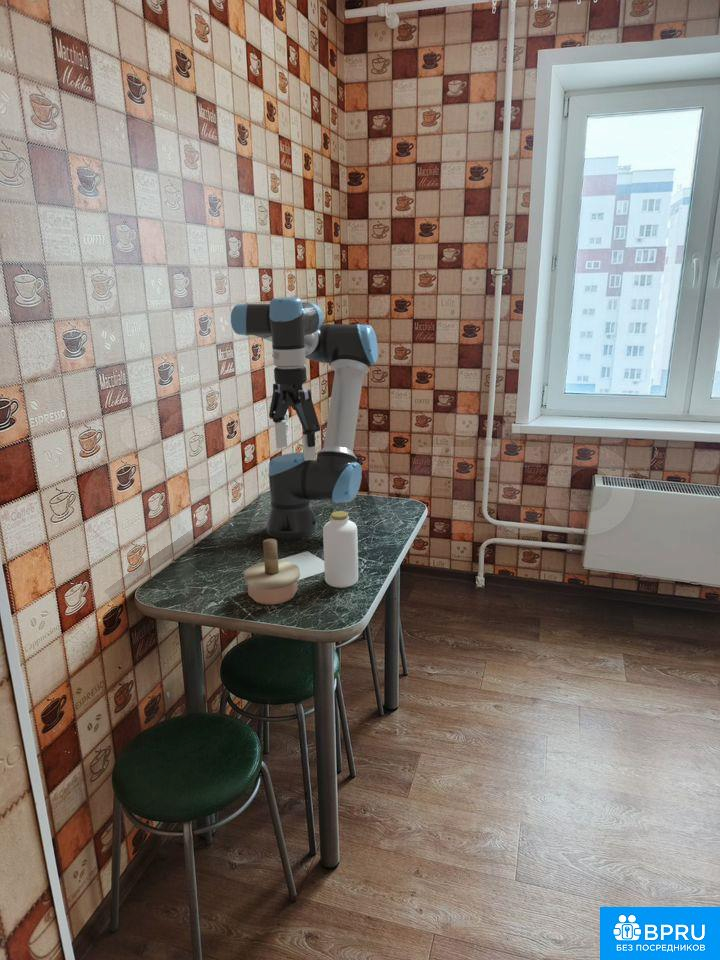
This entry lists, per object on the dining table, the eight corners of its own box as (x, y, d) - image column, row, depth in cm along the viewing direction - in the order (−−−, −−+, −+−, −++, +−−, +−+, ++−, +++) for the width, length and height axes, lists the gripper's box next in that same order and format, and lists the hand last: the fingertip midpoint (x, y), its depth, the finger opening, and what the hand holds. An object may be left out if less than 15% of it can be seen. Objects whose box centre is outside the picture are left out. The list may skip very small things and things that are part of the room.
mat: (262, 565, 172) (262, 564, 172) (307, 552, 180) (307, 551, 180) (289, 584, 161) (288, 582, 161) (336, 569, 169) (335, 567, 169)
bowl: (242, 594, 156) (241, 575, 155) (282, 581, 163) (281, 563, 161) (264, 611, 148) (262, 591, 147) (304, 597, 154) (303, 578, 153)
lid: (235, 574, 155) (232, 539, 153) (282, 560, 163) (280, 527, 160) (260, 594, 145) (257, 557, 143) (310, 578, 152) (308, 543, 150)
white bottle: (324, 575, 165) (321, 508, 160) (357, 573, 166) (355, 507, 161) (325, 590, 157) (322, 520, 152) (359, 588, 158) (358, 519, 153)
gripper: (251, 362, 160) (258, 445, 167) (303, 374, 141) (309, 468, 148) (278, 358, 164) (283, 440, 171) (332, 370, 145) (336, 461, 152)
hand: (295, 453), depth 159 cm, fingers open, 13 cm apart
